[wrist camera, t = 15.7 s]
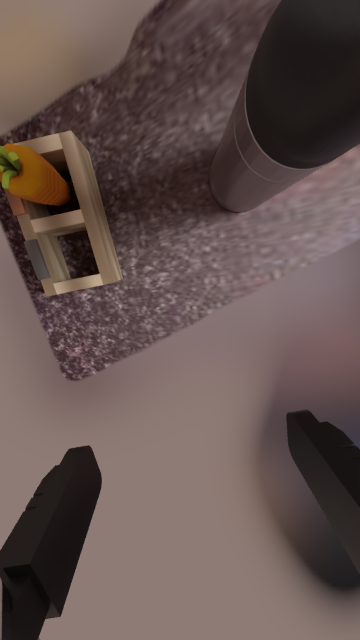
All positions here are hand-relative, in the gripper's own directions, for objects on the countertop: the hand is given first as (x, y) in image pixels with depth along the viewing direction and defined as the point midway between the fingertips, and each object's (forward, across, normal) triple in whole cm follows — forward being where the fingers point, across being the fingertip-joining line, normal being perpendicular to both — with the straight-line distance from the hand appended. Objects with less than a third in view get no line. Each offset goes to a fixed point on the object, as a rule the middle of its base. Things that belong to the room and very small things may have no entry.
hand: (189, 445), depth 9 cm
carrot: (+29, +13, -18) cm, 37 cm away
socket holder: (+29, +13, -14) cm, 35 cm away
